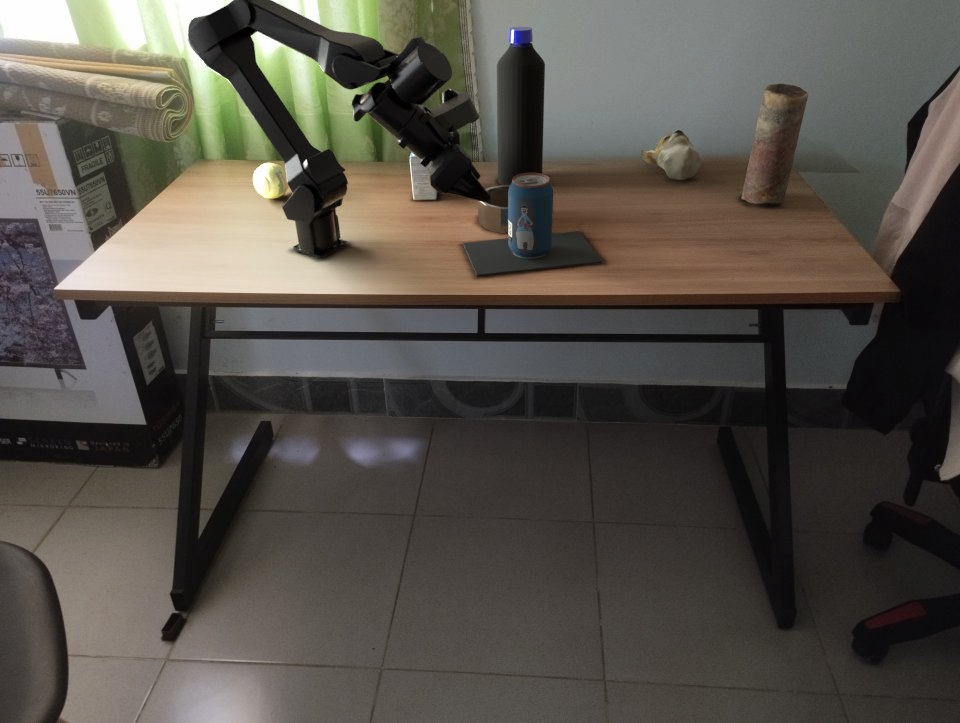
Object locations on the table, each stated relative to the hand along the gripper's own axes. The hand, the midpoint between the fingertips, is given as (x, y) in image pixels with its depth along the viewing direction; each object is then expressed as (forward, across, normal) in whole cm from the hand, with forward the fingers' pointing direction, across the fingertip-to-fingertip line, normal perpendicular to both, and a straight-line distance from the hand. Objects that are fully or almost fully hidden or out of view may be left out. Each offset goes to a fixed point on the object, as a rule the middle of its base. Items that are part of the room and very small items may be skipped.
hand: (483, 188), depth 112 cm
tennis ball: (-17, +35, +33) cm, 51 cm away
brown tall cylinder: (+46, +13, -30) cm, 57 cm away
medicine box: (+4, +31, +13) cm, 33 cm away
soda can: (+13, 0, +3) cm, 13 cm away
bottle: (+17, +33, -1) cm, 38 cm away
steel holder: (+13, +14, +3) cm, 20 cm away
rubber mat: (+14, 0, +3) cm, 14 cm away
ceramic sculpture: (+39, +32, -23) cm, 55 cm away
